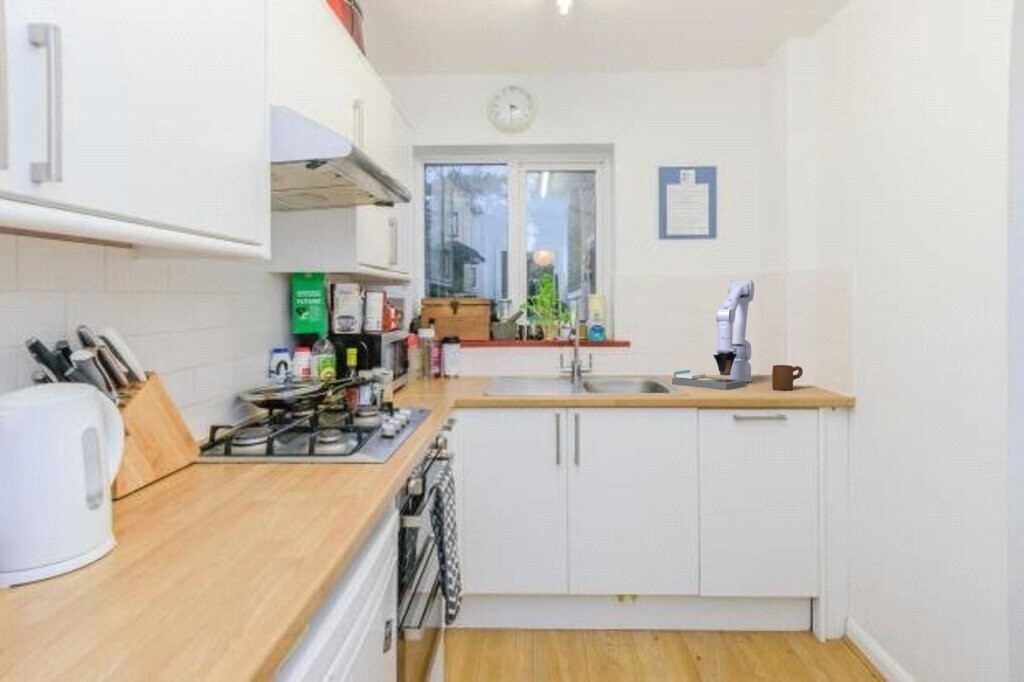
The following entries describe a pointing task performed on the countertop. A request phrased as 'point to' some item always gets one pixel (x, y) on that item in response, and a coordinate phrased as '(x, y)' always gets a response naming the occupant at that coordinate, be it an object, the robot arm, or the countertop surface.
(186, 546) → the countertop surface
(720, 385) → the housing
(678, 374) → the lid
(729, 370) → the peg
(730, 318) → the robot arm
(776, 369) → the mug
